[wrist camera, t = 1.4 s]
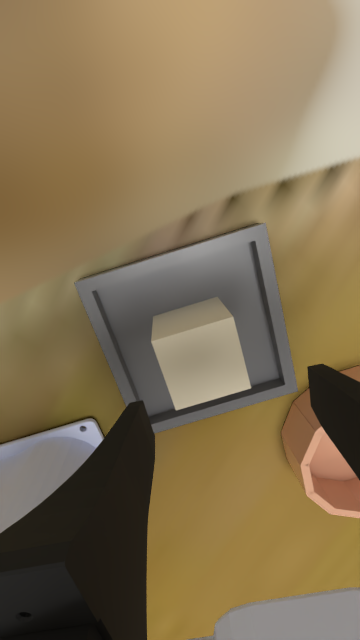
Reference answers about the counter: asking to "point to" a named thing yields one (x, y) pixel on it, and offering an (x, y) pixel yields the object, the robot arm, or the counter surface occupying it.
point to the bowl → (320, 459)
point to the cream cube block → (199, 353)
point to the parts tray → (183, 290)
